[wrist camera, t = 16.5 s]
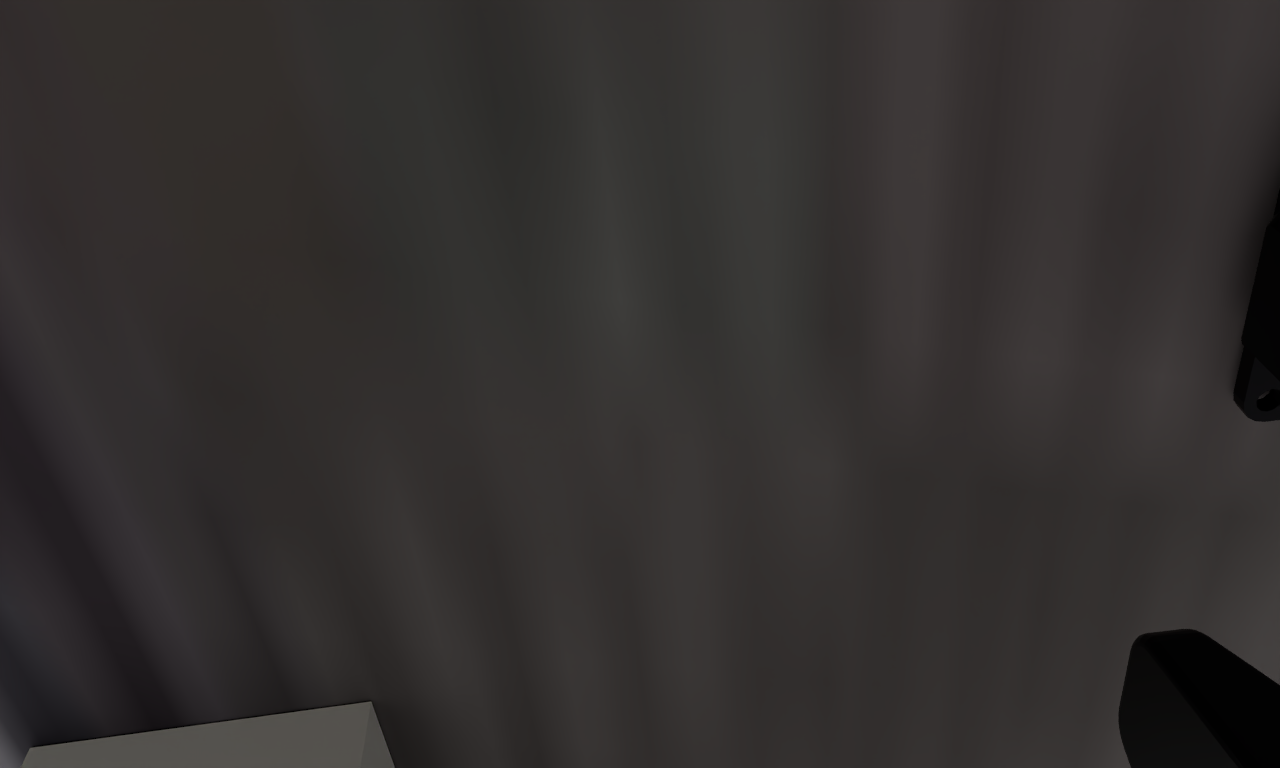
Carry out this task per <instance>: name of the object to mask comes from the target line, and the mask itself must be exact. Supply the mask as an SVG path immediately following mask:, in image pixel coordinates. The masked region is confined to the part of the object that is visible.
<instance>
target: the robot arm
mask: <svg viewBox="0 0 1280 768" xmlns="http://www.w3.org/2000/svg"><path fill="white" fill-rule="evenodd" d="M1241 341H1242V344H1243V345H1244V348H1243V353H1242V357H1241V361H1240V366H1239V370H1238V375H1237V379H1236V383H1235V388H1234V401H1235V403H1236V404H1237V406H1238V407H1239V408H1240V409H1241V410H1242V412H1243V413H1244V414H1245V415H1246V416H1247V417H1248V418H1250V419H1252V420H1254V421H1262V422H1265V421H1274V420H1280V190H1279V194H1278V199H1277V203H1276V207H1275V212H1274V216H1273V218H1272V220H1271V221H1270V223H1269V224H1268V226H1267V228H1266V232H1265V236H1264V241H1263V245H1262V249H1261V254H1260V258H1259V263H1258V267H1257V272H1256V276H1255V281H1254V285H1253V289H1252V294H1251V298H1250V303H1249V307H1248V312H1247V316H1246V321H1245V325H1244V329H1243V334H1242V340H1241ZM1268 390H1270V392H1269V394H1267V395H1266V396H1265V397H1264V398H1261V399H1258V398H1259V396H1260V395H1262V394H1263V393H1264V392H1265V391H1268ZM1119 729H1120V735H1121V739H1122V743H1123V746H1124V749H1125V752H1126V754H1127V757H1128V760H1129V763H1130V766H1131V768H1280V685H1279V684H1277V683H1276V682H1274V681H1273V680H1271V679H1270V678H1268V677H1267V676H1266V675H1264V674H1263V673H1261V672H1260V671H1258V670H1257V669H1255V668H1254V667H1252V666H1251V665H1249V664H1248V663H1247V662H1245V661H1244V660H1242V659H1241V658H1239V657H1238V656H1236V655H1235V654H1233V653H1232V652H1230V651H1229V650H1228V649H1226V648H1225V647H1223V646H1222V645H1220V644H1219V643H1217V642H1216V641H1214V640H1213V639H1211V638H1210V637H1209V636H1207V635H1205V634H1203V633H1201V632H1199V631H1196V630H1192V629H1179V630H1170V631H1162V632H1154V633H1145V634H1143V635H1140V636H1139V637H1138V638H1137V639H1136V640H1135V641H1134V643H1133V645H1132V648H1131V651H1130V656H1129V661H1128V666H1127V671H1126V676H1125V681H1124V686H1123V691H1122V696H1121V701H1120V706H1119Z"/></svg>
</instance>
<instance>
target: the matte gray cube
mask: <svg viewBox="0 0 1280 768" xmlns="http://www.w3.org/2000/svg"><path fill="white" fill-rule="evenodd" d="M21 768H395V766H394V764H393V761H392V758H391V755H390V752H389V750H388V747H387V744H386V741H385V739H384V736H383V733H382V730H381V727H380V725H379V722H378V719H377V716H376V713H375V711H374V708H373V705H372V702H364V703H356V704H349V705H342V706H334V707H327V708H320V709H312V710H305V711H298V712H290V713H283V714H276V715H268V716H261V717H254V718H246V719H239V720H232V721H224V722H217V723H210V724H202V725H195V726H187V727H180V728H173V729H165V730H158V731H151V732H143V733H136V734H129V735H121V736H114V737H107V738H99V739H92V740H85V741H77V742H70V743H63V744H55V745H48V746H41V747H33V748H30V749H29V751H28V753H27V756H26V758H25V760H24V762H23V764H22V766H21Z"/></svg>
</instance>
